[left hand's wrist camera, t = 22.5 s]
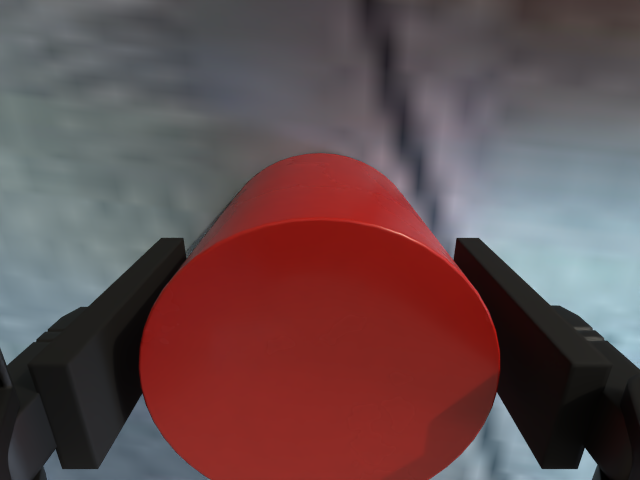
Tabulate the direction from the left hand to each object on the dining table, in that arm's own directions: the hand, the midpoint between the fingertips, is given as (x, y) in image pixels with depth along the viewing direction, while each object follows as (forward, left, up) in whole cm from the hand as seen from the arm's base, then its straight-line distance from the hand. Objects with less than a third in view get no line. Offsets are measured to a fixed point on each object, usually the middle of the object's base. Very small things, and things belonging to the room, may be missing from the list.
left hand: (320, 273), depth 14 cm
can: (0, 0, -2) cm, 2 cm away
